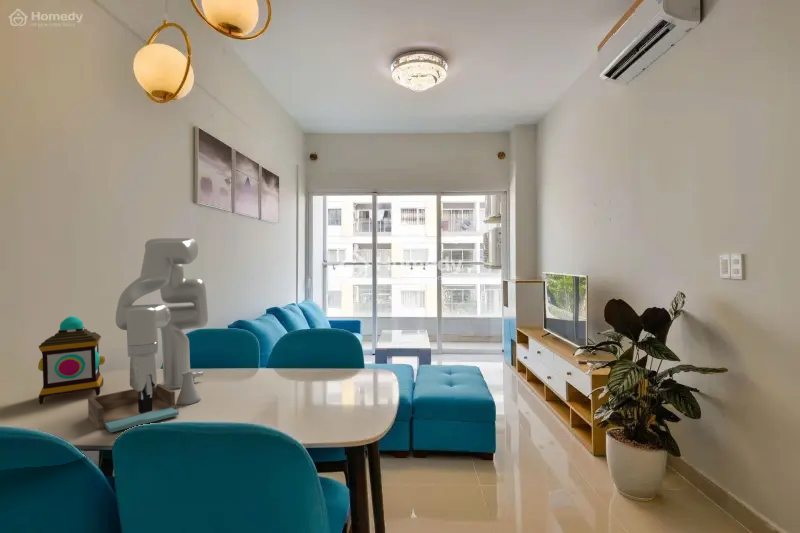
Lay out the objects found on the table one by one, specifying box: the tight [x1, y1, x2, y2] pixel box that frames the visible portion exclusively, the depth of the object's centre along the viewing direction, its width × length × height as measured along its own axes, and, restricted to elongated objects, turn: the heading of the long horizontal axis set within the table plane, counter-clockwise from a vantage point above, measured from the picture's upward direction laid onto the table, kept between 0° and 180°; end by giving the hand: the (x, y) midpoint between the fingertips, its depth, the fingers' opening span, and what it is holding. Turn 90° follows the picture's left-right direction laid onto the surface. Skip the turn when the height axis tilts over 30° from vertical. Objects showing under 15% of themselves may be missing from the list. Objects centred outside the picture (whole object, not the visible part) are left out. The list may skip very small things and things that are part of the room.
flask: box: [175, 371, 202, 406], centre depth 138 cm, size 7×7×10 cm
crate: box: [87, 383, 176, 430], centre depth 128 cm, size 20×16×6 cm
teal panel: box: [105, 407, 180, 433], centre depth 120 cm, size 17×1×8 cm
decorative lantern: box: [37, 315, 106, 406], centre depth 154 cm, size 20×20×30 cm
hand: (145, 411), depth 119 cm, fingers closed
